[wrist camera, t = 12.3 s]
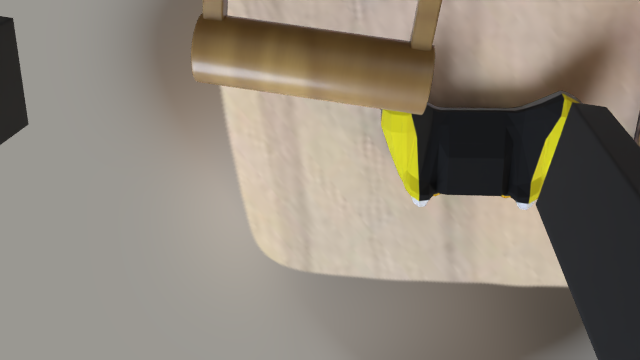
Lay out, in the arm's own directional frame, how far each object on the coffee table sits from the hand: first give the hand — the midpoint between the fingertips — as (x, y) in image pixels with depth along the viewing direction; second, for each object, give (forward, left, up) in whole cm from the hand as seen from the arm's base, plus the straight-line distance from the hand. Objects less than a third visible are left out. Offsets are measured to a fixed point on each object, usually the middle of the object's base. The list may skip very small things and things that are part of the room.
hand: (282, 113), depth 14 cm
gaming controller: (+13, +11, -33) cm, 37 cm away
